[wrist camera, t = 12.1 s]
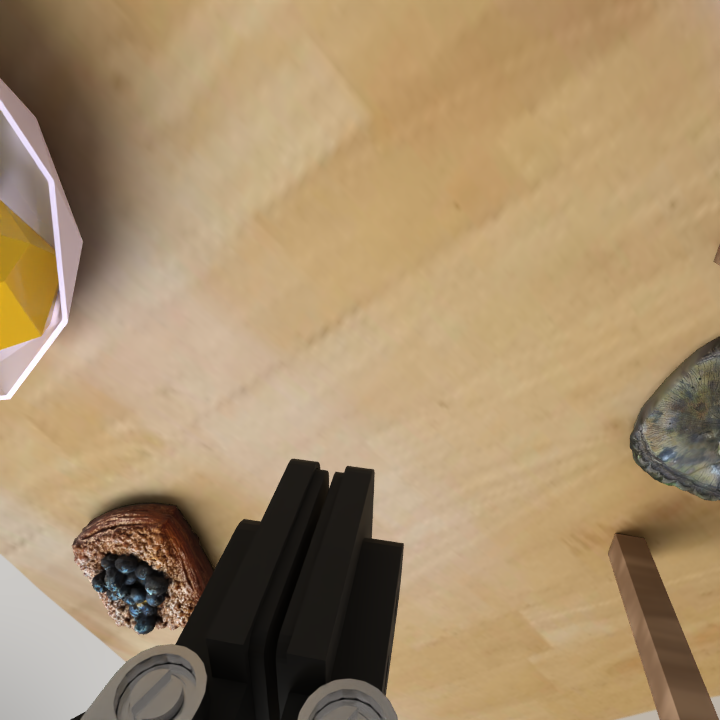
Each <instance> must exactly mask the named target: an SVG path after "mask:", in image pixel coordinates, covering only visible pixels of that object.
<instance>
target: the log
mask: <svg viewBox="0 0 720 720" xmlns="http://www.w3.org/2000/svg"><path fill="white" fill-rule="evenodd" d="M630 448H631V449H632V453H633V458H634V460H635V462H636V464H637V465H639V466H640V467H641V468H642V469H643V470H644V471H645V472H647V473H648V474H649V475H650V476H651V477H652V478H653V479H655V480H657V481H659V482H661V483H664V484H666V485H669V486H676V487H678V488H679V489H681V490H683V491H688V492H689V493H691V494H693V495H696V496H698V497H700V498H702V499H704V500H710V501H717V500H720V337H718V338H716V339H714V340H712V341H711V342H709V343H707V344H706V345H704V346H703V347H701V348H699V349H698V350H696V351H695V352H694V353H693V354H692V355H691V356H690V357H688V358H687V359H686V360H685V361H684V362H683V363H682V364H681V365H680V366H679V367H678V368H677V369H676V370H675V371H674V372H673V373H672V374H671V375H670V376H669V377H668V378H667V379H666V380H665V381H664V382H663V383H662V384H661V386H660V387H659V388H658V389H657V390H656V391H655V393H654V394H653V395H652V396H651V397H650V398H649V400H648V401H647V402H646V403H645V404H644V405H643V407H642V408H641V411H640V413H639V415H638V418H637V420H636V422H635V424H634V430H633V432H632V434H631V435H630Z"/></svg>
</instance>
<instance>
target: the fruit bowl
mask: <svg viewBox="0 0 720 720" xmlns="http://www.w3.org/2000/svg"><path fill="white" fill-rule="evenodd" d="M82 244H83V241H82V238H81V235H80V233H79V230H78V227H77V225H76V222H75V219H74V217H73V214H72V211H71V209H70V206H69V203H68V201H67V198H66V195H65V193H64V190H63V187H62V185H61V182H60V179H59V177H58V174H57V172H56V169H55V166H54V164H53V161H52V158H51V156H50V153H49V150H48V148H47V145H46V142H45V140H44V137H43V134H42V132H41V129H40V126H39V124H38V121H37V118H36V117H35V116H34V115H33V114H32V113H31V111H30V110H29V109H28V108H27V107H26V106H25V105H24V104H23V103H22V101H21V100H20V99H19V98H18V97H17V96H16V95H15V94H14V93H13V92H12V90H11V89H10V88H9V87H8V86H7V85H6V84H5V83H4V82H3V81H2V79H1V78H0V400H4V399H11V397H12V396H13V395H14V393H15V392H16V391H17V389H18V388H19V387H20V385H21V384H22V383H23V381H24V380H25V379H26V377H27V376H28V375H29V373H30V372H31V371H32V369H33V368H34V367H35V365H36V364H37V363H38V361H39V360H40V359H41V357H42V356H43V355H44V353H45V352H46V351H47V349H48V348H49V347H50V345H51V344H52V343H53V341H54V340H55V339H56V337H57V336H58V335H59V333H60V332H61V331H62V329H63V328H64V327H65V325H66V324H67V323H68V319H69V314H70V308H71V303H72V298H73V292H74V287H75V282H76V276H77V271H78V266H79V260H80V255H81V250H82Z"/></svg>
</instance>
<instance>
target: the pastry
mask: <svg viewBox="0 0 720 720" xmlns="http://www.w3.org/2000/svg"><path fill="white" fill-rule="evenodd" d="M72 548H73V552H74V555H75V558H74V559H75V560H74V561H75V563H77V565H78V566H80V568H81V570H83V572H84V574H83V575H84V576H87V577H88V579H89V581H91V584H92V586H93V588H94V589H95V590H96V591H97V592H98V595H99V598H100V599H102V601H103V603H104V606H105V607H106V608H107V609H108V610H109V611H108V614H109V616H111V617H112V618H113V620H115V623H116V625H117V626H126V627H128V628H132V629H134V630H135V632H136V633H137V634H138V635H139V634H143V635H144V634H147V633H149V632H151V631H152V630H153V629H154V627H155V626H156V627H157V628H158V629H159V628H165V627H169V628H170V630H174V629H177V628H178V627H179V626H181V627H182V628H184V627H185V625H186V623H187V622H188V620H189V618H190V616H191V614H192V612H193V610H194V608H195V606H196V604H197V602H198V600H199V599H200V597H201V595H202V593H203V591H204V589H205V587H206V585H207V583H208V581H209V579H210V577H211V576H212V574H213V572H214V571H213V568H212V566H211V564H210V562H209V560H208V558H207V556H206V554H205V553H204V551H203V550H202V547H201V546H200V543H199V537H198V536H197V535H196V534H195V533H194V532H193V531H192V529H191V526H190V525H189V524H188V522H187V521H186V520H185V518H184V517H183V515H182V513H181V512H180V510H179V509H177V506H175V505H170V504H169V505H166V504H160V503H141V504H140V503H139V504H133V505H128V506H124V507H120V508H117V509H114V510H111V511H109V512H107V513H105V514H103V515H101V516H98V517H97V518H95V519H94V520H92V521H91V522H89V524H88V525H87V526H86V527H84V528H83V529H82V532H81V533H80V535H79V536H78V537H77V538H76V539H75V540H74V542H73V545H72Z"/></svg>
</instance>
